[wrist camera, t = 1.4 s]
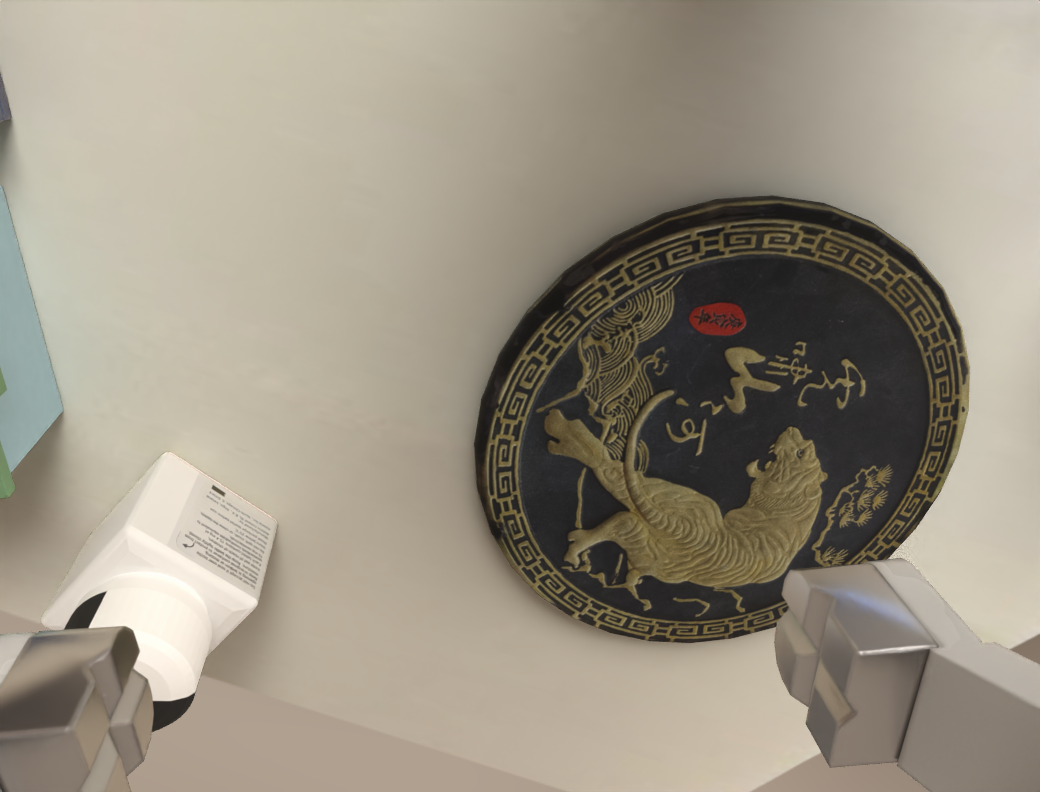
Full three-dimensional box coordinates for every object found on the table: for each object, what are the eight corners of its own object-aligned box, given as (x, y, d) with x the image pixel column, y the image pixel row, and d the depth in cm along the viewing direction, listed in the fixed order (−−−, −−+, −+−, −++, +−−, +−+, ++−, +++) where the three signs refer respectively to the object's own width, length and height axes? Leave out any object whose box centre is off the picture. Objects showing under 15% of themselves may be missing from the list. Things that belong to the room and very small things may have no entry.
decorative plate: (558, 136, 39) (1073, 271, 45) (552, 130, 40) (1050, 261, 47) (426, 617, 51) (845, 670, 57) (425, 596, 53) (833, 650, 59)
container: (203, 599, 50) (141, 780, 39) (89, 534, 47) (-15, 708, 36) (281, 519, 48) (240, 685, 37) (167, 446, 46) (84, 601, 34)
